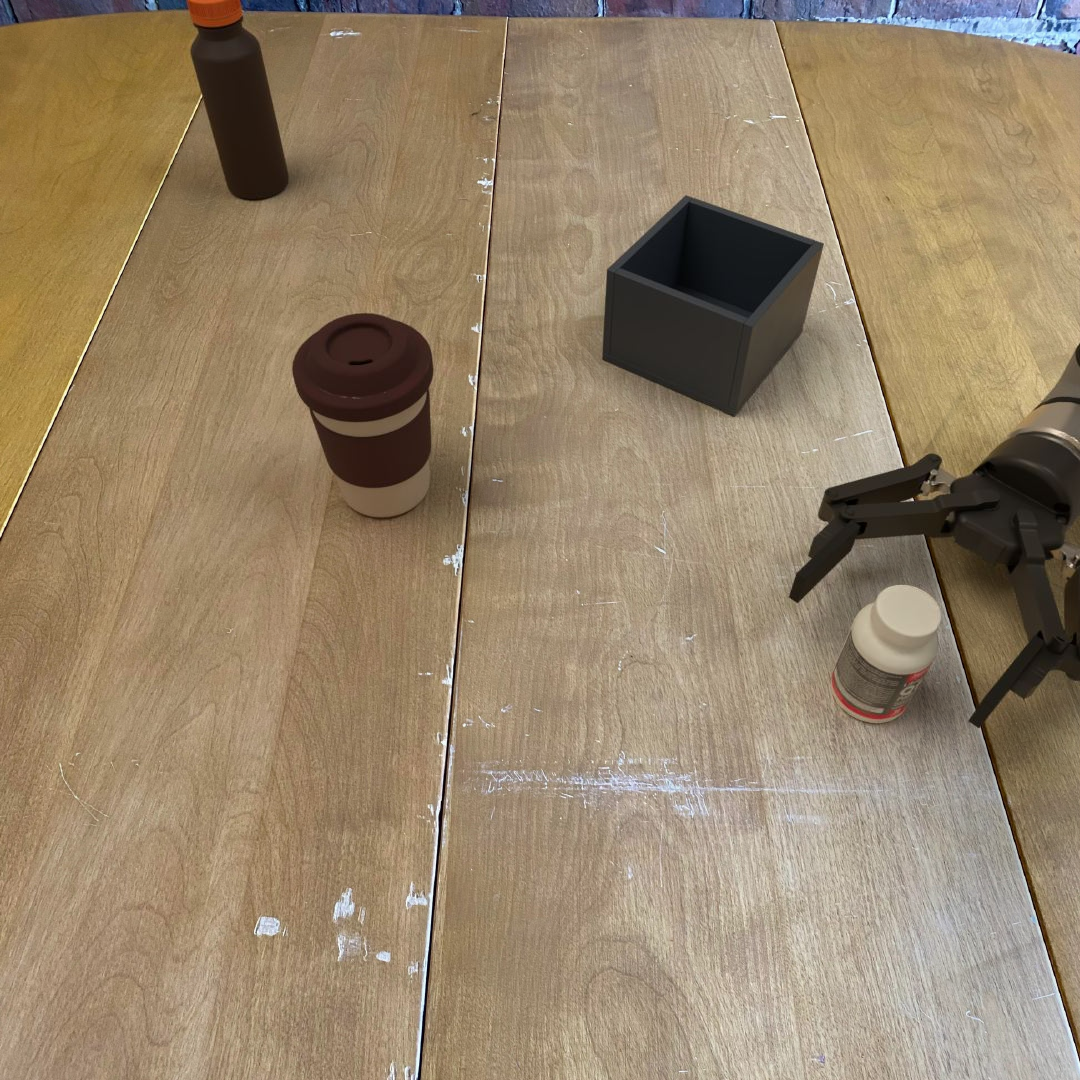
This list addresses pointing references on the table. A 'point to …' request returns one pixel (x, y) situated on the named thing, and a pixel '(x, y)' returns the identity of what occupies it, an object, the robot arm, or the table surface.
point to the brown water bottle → (237, 99)
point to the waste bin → (708, 302)
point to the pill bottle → (887, 654)
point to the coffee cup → (370, 409)
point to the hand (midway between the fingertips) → (884, 648)
